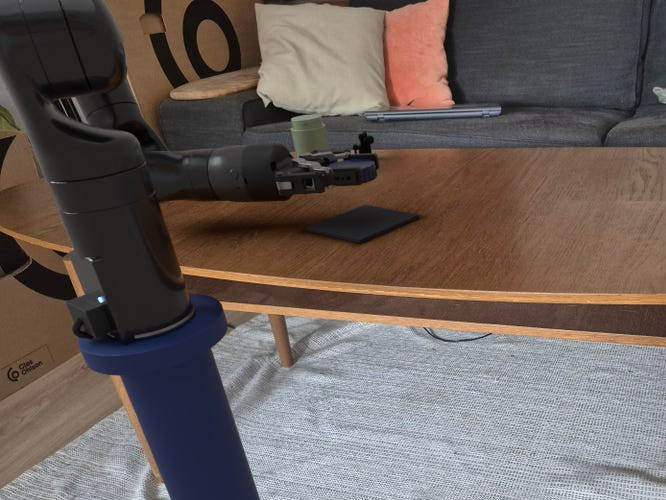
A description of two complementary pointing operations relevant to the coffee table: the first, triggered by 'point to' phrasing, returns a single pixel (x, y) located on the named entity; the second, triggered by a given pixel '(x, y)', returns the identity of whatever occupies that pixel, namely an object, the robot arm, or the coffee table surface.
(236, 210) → the coffee table surface
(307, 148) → the jar
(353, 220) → the coaster
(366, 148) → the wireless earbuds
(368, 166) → the jar lid
